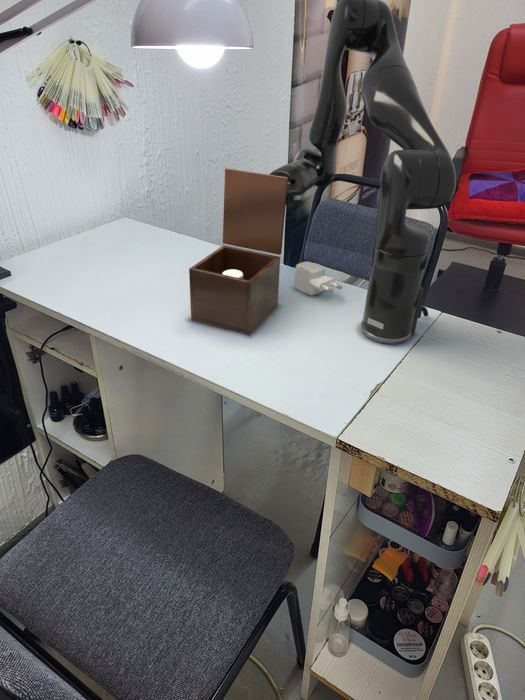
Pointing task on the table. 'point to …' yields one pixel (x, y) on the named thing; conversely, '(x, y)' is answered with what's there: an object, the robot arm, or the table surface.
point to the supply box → (234, 289)
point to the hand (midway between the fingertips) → (255, 203)
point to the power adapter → (312, 279)
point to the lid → (254, 210)
